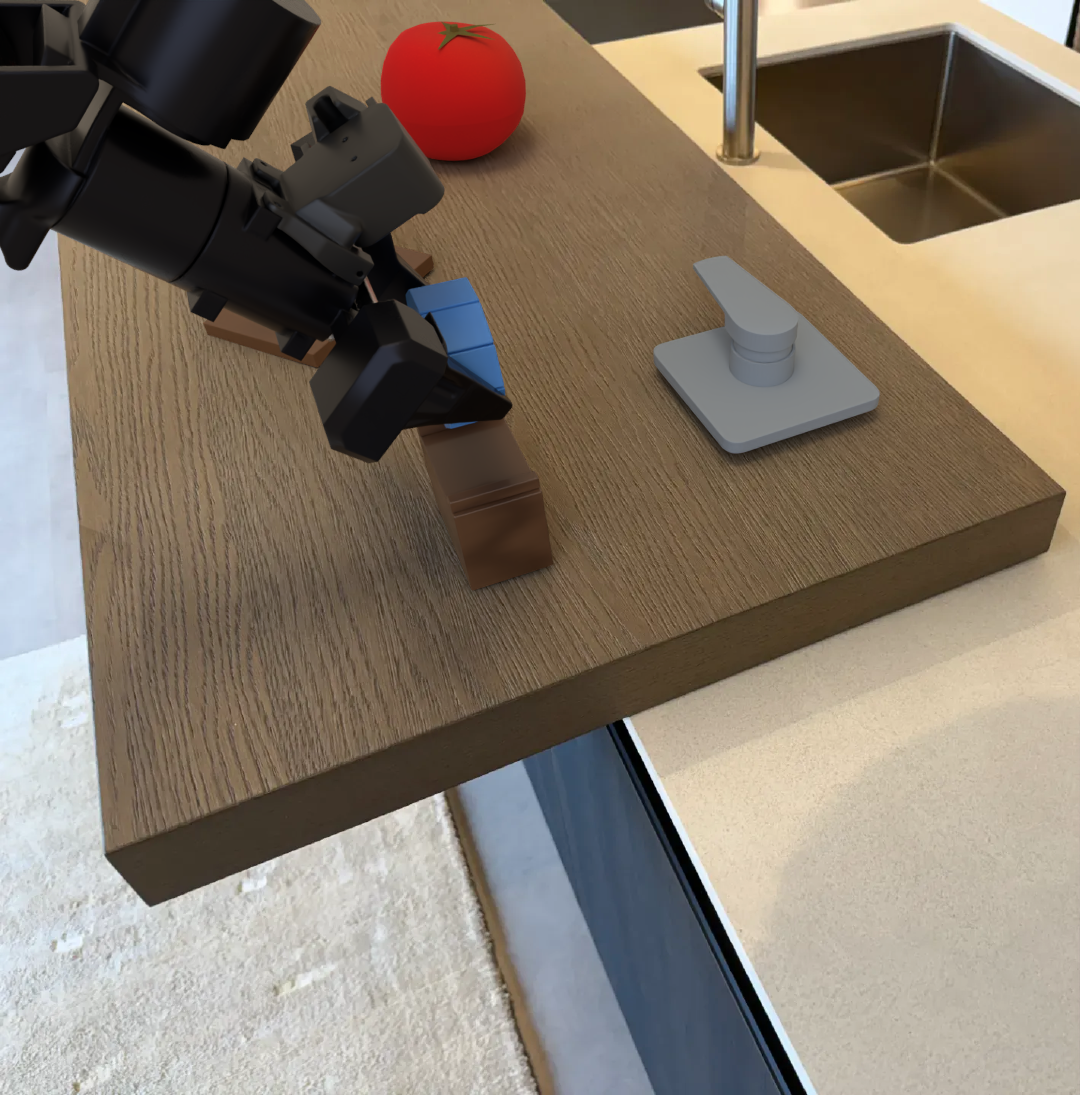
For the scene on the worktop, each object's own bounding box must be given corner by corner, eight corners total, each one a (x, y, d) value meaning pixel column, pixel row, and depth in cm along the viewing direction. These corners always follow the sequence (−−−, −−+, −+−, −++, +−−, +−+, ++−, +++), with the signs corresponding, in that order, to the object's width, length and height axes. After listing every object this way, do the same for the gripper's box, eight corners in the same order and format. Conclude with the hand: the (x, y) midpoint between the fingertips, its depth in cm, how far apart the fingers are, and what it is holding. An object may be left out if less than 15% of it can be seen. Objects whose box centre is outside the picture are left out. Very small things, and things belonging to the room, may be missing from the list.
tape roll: (458, 457, 54) (432, 341, 49) (423, 377, 59) (396, 264, 53) (514, 442, 55) (494, 326, 50) (475, 365, 59) (453, 252, 54)
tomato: (369, 140, 100) (342, 14, 92) (497, 109, 106) (482, -12, 98) (425, 192, 93) (401, 60, 85) (558, 155, 99) (548, 30, 91)
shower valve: (781, 237, 78) (896, 341, 69) (776, 300, 82) (884, 406, 73) (631, 274, 73) (733, 390, 64) (633, 339, 77) (729, 457, 68)
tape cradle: (471, 591, 60) (450, 507, 55) (435, 501, 65) (413, 416, 60) (554, 565, 62) (540, 480, 57) (512, 478, 67) (496, 394, 62)
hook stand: (317, 368, 75) (270, 226, 67) (207, 336, 77) (149, 196, 69) (434, 267, 85) (405, 133, 76) (333, 242, 87) (295, 109, 79)
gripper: (338, 160, 36) (646, 348, 47) (260, -10, 48) (522, 173, 59) (179, 398, 39) (503, 521, 51) (142, 184, 51) (412, 323, 62)
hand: (486, 369), depth 55 cm, fingers closed on tape roll, 7 cm apart
